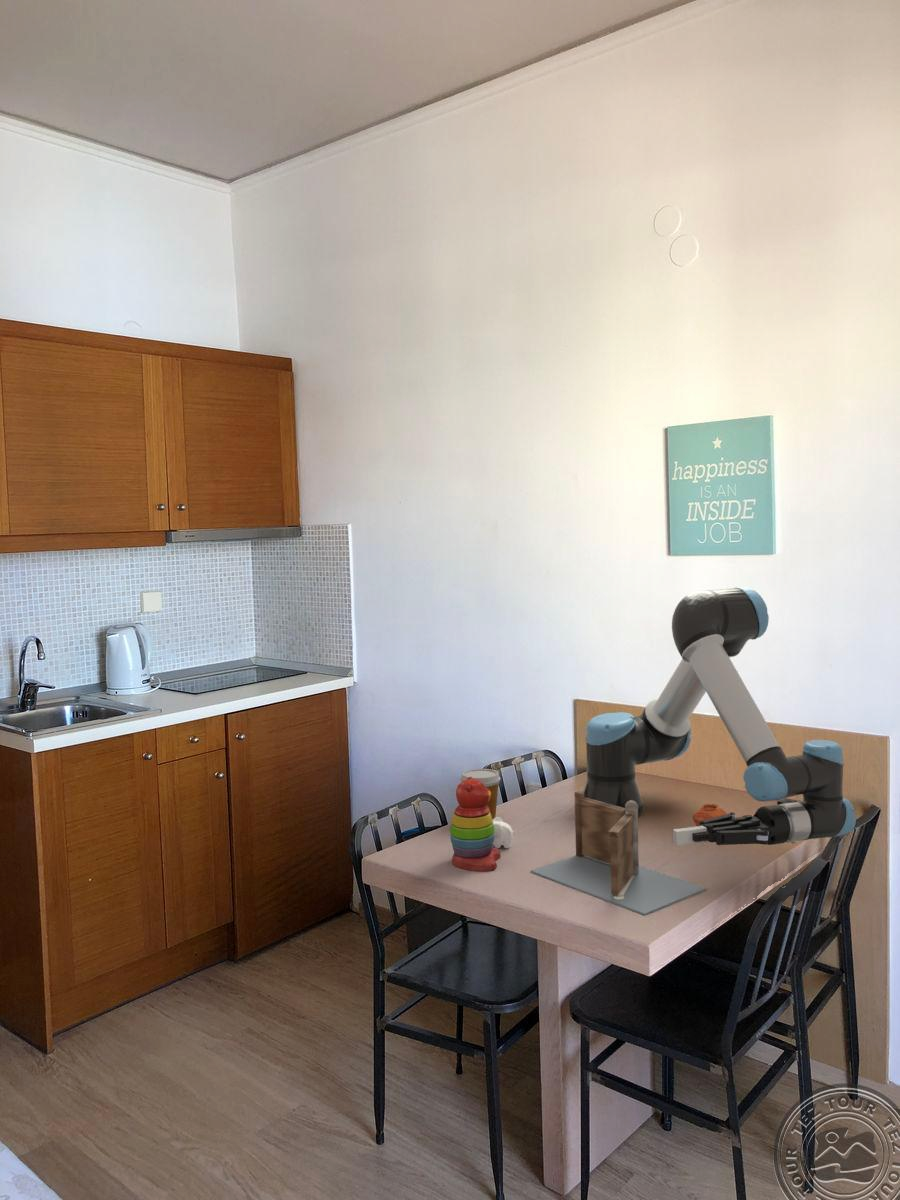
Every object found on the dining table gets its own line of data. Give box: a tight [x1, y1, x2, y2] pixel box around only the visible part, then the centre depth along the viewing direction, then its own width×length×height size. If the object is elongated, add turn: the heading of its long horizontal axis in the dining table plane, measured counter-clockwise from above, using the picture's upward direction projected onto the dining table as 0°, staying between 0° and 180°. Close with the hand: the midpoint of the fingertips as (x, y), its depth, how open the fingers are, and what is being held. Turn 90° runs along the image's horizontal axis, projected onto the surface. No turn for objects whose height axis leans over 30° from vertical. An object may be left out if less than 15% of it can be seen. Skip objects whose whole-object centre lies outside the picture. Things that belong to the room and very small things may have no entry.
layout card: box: [530, 855, 708, 916], centre depth 195 cm, size 30×18×1 cm, turn 38°
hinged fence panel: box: [609, 814, 634, 895], centre depth 190 cm, size 12×2×12 cm, turn 155°
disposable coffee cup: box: [460, 768, 501, 820], centre depth 234 cm, size 10×10×12 cm
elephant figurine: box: [492, 816, 518, 849], centre depth 217 cm, size 7×8×6 cm
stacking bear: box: [449, 777, 501, 872], centre depth 207 cm, size 11×10×18 cm
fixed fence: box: [574, 791, 640, 875], centre depth 203 cm, size 17×3×15 cm, turn 38°
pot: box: [692, 803, 728, 827], centre depth 222 cm, size 8×8×7 cm
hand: (674, 837), depth 190 cm, fingers closed
